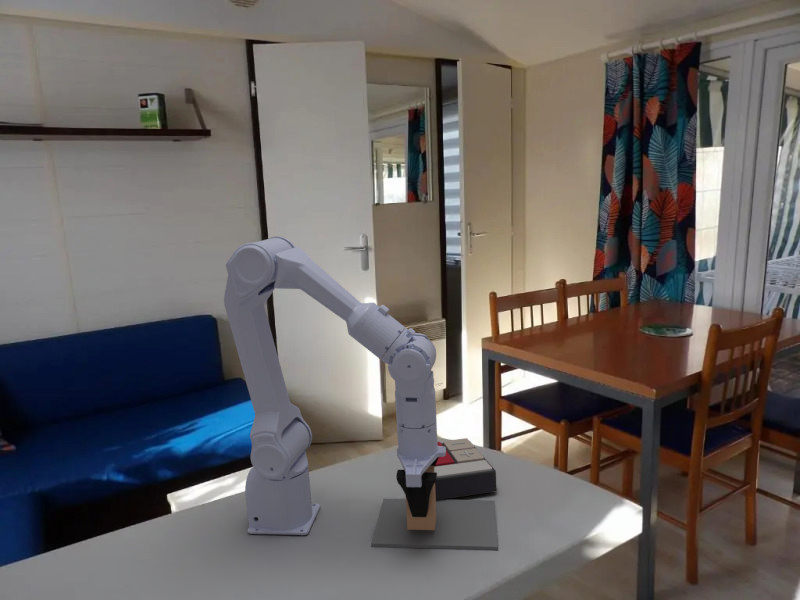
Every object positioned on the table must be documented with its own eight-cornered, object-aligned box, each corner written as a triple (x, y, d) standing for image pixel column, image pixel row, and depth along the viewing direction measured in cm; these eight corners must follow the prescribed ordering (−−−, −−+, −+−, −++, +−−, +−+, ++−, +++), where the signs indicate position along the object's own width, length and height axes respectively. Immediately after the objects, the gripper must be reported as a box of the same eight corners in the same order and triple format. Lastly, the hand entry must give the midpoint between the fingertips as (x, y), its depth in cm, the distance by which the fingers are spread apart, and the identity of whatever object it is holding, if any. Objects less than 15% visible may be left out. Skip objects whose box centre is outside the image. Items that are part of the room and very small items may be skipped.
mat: (371, 546, 83) (371, 543, 83) (383, 501, 95) (383, 498, 95) (498, 550, 81) (497, 546, 81) (494, 503, 92) (494, 500, 92)
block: (407, 529, 84) (404, 479, 82) (410, 514, 88) (407, 465, 86) (434, 530, 83) (432, 479, 82) (436, 514, 87) (434, 465, 86)
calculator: (468, 435, 109) (496, 466, 94) (469, 457, 109) (497, 491, 95) (411, 442, 107) (430, 475, 92) (413, 465, 107) (432, 501, 93)
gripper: (441, 443, 75) (445, 537, 78) (446, 401, 89) (449, 482, 92) (388, 443, 76) (394, 535, 79) (401, 401, 90) (405, 481, 93)
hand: (420, 506), depth 85 cm, fingers closed on block, 4 cm apart
